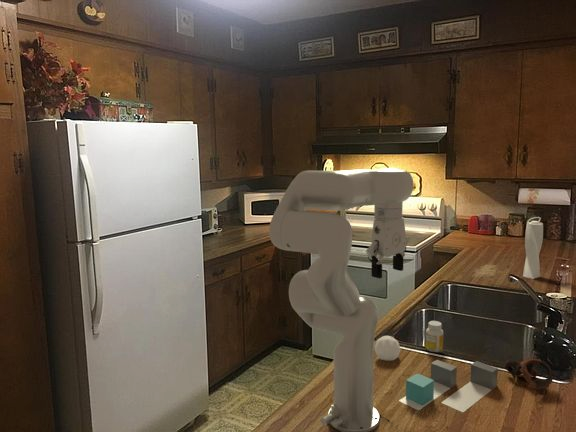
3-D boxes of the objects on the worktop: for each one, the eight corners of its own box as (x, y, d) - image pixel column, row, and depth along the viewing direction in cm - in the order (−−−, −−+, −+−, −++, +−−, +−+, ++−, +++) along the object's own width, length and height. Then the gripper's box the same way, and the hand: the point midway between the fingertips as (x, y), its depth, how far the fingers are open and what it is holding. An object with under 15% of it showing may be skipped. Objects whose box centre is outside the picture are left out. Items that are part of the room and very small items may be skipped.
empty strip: (462, 416, 118) (463, 393, 117) (440, 406, 122) (441, 384, 121) (496, 389, 130) (497, 368, 129) (475, 380, 134) (476, 360, 133)
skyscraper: (528, 273, 230) (532, 215, 226) (543, 276, 224) (548, 217, 220) (519, 276, 226) (522, 217, 221) (535, 280, 220) (539, 220, 215)
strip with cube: (418, 414, 119) (419, 391, 118) (398, 404, 124) (398, 382, 123) (456, 387, 131) (456, 366, 130) (436, 379, 136) (437, 359, 134)
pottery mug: (546, 378, 136) (557, 362, 130) (543, 407, 129) (554, 391, 124) (502, 361, 140) (510, 345, 135) (496, 388, 134) (505, 372, 128)
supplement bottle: (429, 356, 150) (429, 327, 148) (422, 348, 155) (423, 320, 153) (445, 354, 150) (446, 326, 149) (438, 347, 156) (439, 319, 154)
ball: (383, 365, 151) (383, 339, 154) (405, 363, 145) (405, 337, 149) (369, 360, 146) (369, 334, 150) (391, 358, 141) (391, 331, 144)
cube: (422, 405, 121) (423, 387, 120) (405, 397, 125) (406, 380, 124) (433, 398, 124) (434, 380, 124) (416, 390, 128) (417, 373, 127)
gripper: (379, 219, 123) (379, 283, 126) (418, 210, 134) (416, 269, 137) (357, 216, 129) (357, 277, 132) (395, 208, 140) (395, 264, 143)
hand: (387, 273), depth 135 cm, fingers open, 9 cm apart
